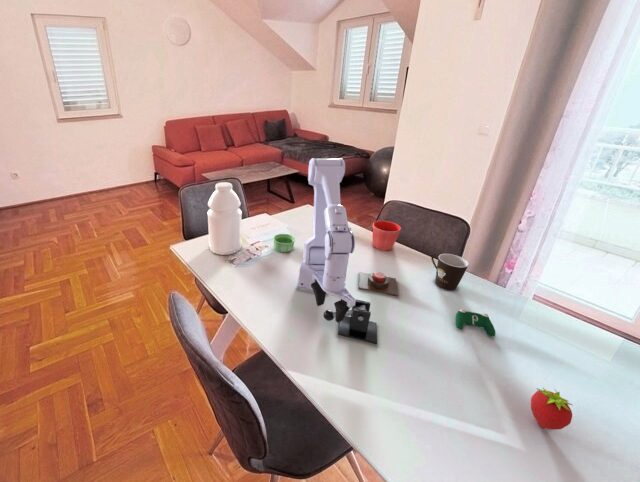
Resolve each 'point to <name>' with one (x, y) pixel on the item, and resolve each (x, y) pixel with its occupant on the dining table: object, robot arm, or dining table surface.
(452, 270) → the coffee mug
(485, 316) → the gaming controller
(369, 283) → the button block
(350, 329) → the bracket
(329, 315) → the lever
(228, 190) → the bottle
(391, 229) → the flower pot
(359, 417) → the dining table surface
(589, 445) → the dining table surface
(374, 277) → the button
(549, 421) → the strawberry
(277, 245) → the ramekin
